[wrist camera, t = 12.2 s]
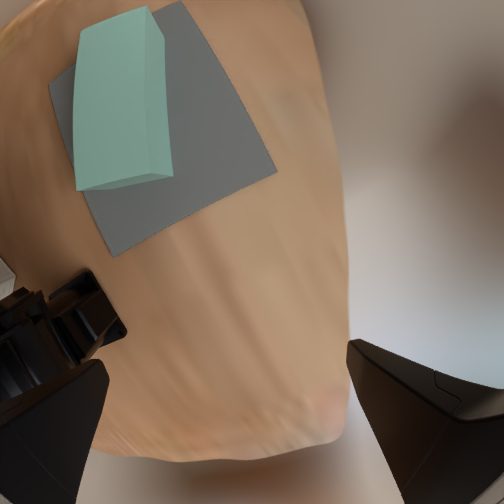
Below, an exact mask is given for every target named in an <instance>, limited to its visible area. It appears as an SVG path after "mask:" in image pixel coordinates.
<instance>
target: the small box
mask: <svg viewBox="0 0 504 504" xmlns="http://www.w3.org/2000/svg"><path fill="white" fill-rule="evenodd" d="M15 278H16V276H15V274H14V273H13V272H12V271H11V270H10V268H9V267H8V266H7V265H6V264H5V262H4V261H3V260H2V259H1V258H0V300H1V299H3V298H5V297H6V296H8V295H10V294H11V293H12V292H13V287H14V282H15Z"/></svg>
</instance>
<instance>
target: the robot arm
mask: <svg viewBox="0 0 504 504" xmlns="http://www.w3.org/2000/svg"><path fill="white" fill-rule="evenodd" d="M87 275H88V276H89V278H90V279H88V277H87ZM43 297H44V295H43V293H42V290H39V291H37V292H35V293H34V291H30V292H29V291H28V290H27V289H26V288H24V287H22V288H20V289H18V290H17V291H15V292H13V293H11V294H10V295H8V296H6V297H5V298H3V299H1V300H0V504H75V503H76V497H77V494H78V490H79V486H80V482H81V478H82V475H83V471H84V467H85V463H86V460H87V457H88V454H89V450H90V447H91V444H92V441H93V438H94V435H95V432H96V429H97V426H98V423H99V420H100V417H101V414H102V410H103V406H104V402H105V398H106V394H107V390H108V386H109V381H110V380H109V375H108V373H107V371H106V368H105V366H104V364H103V362H102V361H101V360H100V359H90V358H91V357H92V356H93V354H94V353H95V352H96V351H97V349H98V348H100V347H102V346H105V345H107V344H110V343H112V342H114V341H117V340H119V339H122V338H124V337H125V336H126V335H127V329H126V328H125V326H124V325H123V323H122V322H121V320H120V318H119V317H118V315H117V313H116V312H115V310H114V308H113V307H112V305H111V303H110V302H109V300H108V298H107V297H106V295H105V293H104V292H103V290H102V289H101V287H100V285H99V283H98V282H97V280H96V278H95V276H94V274H93V273H92V272H91V271H86V272H84V273H83V274H81V275H79V276H78V277H76V278H75V279H73V280H72V281H70V282H69V283H67V284H66V285H64V286H63V287H61V288H60V289H58V290H57V291H56V292H54V293H53V294H51V295H50V296H49V302H47V303H46V302H45V300H44V298H43ZM120 330H121V331H122V332H123V333H121V332H120ZM346 363H347V367H348V370H349V373H350V376H351V379H352V382H353V385H354V388H355V391H356V394H357V397H358V400H359V402H360V405H361V407H362V409H363V411H364V413H365V415H366V417H367V419H368V421H369V424H370V425H371V428H372V430H373V432H374V434H375V436H376V439H377V441H378V443H379V445H380V447H381V449H382V452H383V454H384V456H385V459H386V461H387V463H388V465H389V468H390V470H391V472H392V474H393V477H394V479H395V481H396V484H397V486H398V488H399V491H400V492H401V496H402V498H403V500H404V503H405V504H504V389H496V388H491V387H488V386H484V385H480V384H476V383H472V382H468V381H465V380H461V379H458V378H455V377H452V376H449V375H447V374H444V373H441V372H439V371H436V370H435V371H434V370H433V369H431V368H428V367H426V366H424V365H421V364H419V363H416V362H413V361H411V360H409V359H406V358H404V357H401V356H399V355H397V354H394V353H392V352H390V351H387V350H385V349H383V348H380V347H378V346H375V345H373V344H371V343H369V342H366V341H364V340H362V339H355V340H350V341H349V342H348V345H347V357H346Z"/></svg>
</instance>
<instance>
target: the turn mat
mask: <svg viewBox="0 0 504 504" xmlns="http://www.w3.org/2000/svg"><path fill="white" fill-rule="evenodd" d="M152 16H153V18H154V20H155V21H156V23H157V25H158V27H159V29H160V30H161V32H162V34H163V36H164V38H165V78H166V98H167V114H168V127H169V138H170V149H171V159H172V168H173V177H168V178H163V179H157V180H152V181H147V182H142V183H138V184H133V185H128V186H124V187H120V188H115V189H106V190H88V191H82V192H83V194H84V197H85V199H86V202H87V204H88V206H89V208H90V211H91V213H92V215H93V217H94V219H95V222H96V224H97V226H98V228H99V230H100V232H101V234H102V236H103V238H104V240H105V242H106V244H107V246H108V248H109V250H110V252H111V254H112V256H113V258H114V257H116V256H117V255H119V254H121V253H123V252H124V251H126V250H128V249H129V248H131V247H133V246H134V245H136V244H138V243H140V242H141V241H143V240H145V239H147V238H148V237H150V236H152V235H154V234H156V233H157V232H159V231H161V230H163V229H165V228H166V227H168V226H170V225H172V224H174V223H176V222H177V221H179V220H181V219H183V218H185V217H187V216H189V215H191V214H193V213H194V212H196V211H198V210H200V209H202V208H204V207H206V206H208V205H210V204H212V203H214V202H216V201H218V200H220V199H222V198H224V197H226V196H228V195H230V194H232V193H234V192H236V191H238V190H240V189H242V188H244V187H246V186H248V185H251V184H253V183H255V182H257V181H259V180H261V179H263V178H265V177H268V176H270V175H272V174H274V173H276V172H278V171H277V169H276V167H275V165H274V163H273V161H272V159H271V157H270V155H269V153H268V151H267V149H266V147H265V145H264V143H263V141H262V139H261V137H260V135H259V133H258V131H257V129H256V127H255V125H254V123H253V122H252V120H251V118H250V116H249V114H248V112H247V110H246V108H245V106H244V105H243V103H242V101H241V99H240V97H239V95H238V94H237V92H236V90H235V88H234V86H233V85H232V83H231V81H230V79H229V78H228V76H227V74H226V72H225V71H224V69H223V67H222V65H221V64H220V62H219V60H218V59H217V57H216V55H215V54H214V52H213V50H212V49H211V47H210V45H209V44H208V42H207V40H206V39H205V37H204V36H203V34H202V32H201V31H200V29H199V28H198V26H197V24H196V23H195V21H194V20H193V18H192V17H191V15H190V14H189V12H188V10H187V9H186V7H185V6H184V4H183V3H182V1H178V2H176V3H174V4H171V5H169V6H167V7H165V8H162V9H160V10H158V11H156V12H154V13H152ZM76 62H77V61H76ZM76 62H75V63H73V64H72V65H71V66H70V67H68V68H67V69H66V70H65V71H64V72H62V73H61V74H60V75H59V76H58V77H56V78H55V79H54V80H53V81H52V82H51V83H50V84H49V85H48V86H49V91H50V95H51V99H52V103H53V107H54V111H55V114H56V118H57V121H58V125H59V128H60V131H61V134H62V138H63V141H64V144H65V147H66V150H67V153H68V156H69V158H70V161H71V164H72V167H73V169H74V172H75V168H74V151H73V98H74V82H75V71H76Z"/></svg>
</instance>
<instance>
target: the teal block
mask: <svg viewBox="0 0 504 504" xmlns="http://www.w3.org/2000/svg"><path fill="white" fill-rule="evenodd" d="M73 151H74V168H75V179H76V189H77V191H88V190H106V189H115V188H120V187H124V186H128V185H133V184H138V183H142V182H147V181H152V180H157V179H163V178H168V177H173V168H172V159H171V149H170V138H169V127H168V114H167V98H166V78H165V38H164V36H163V34H162V32H161V30H160V29H159V27H158V25H157V23H156V21H155V20H154V18H153V16H152V14H151V12H150V11H149V9H148V7H147V6H144V7H140V8H137V9H134V10H131V11H128V12H125V13H122V14H120V15H117V16H114V17H112V18H109V19H107V20H104V21H102V22H99V23H97V24H95V25H92V26H90V27H88V28H86V29H84V30H81V35H80V40H79V47H78V54H77V62H76V71H75V82H74V98H73Z"/></svg>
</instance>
